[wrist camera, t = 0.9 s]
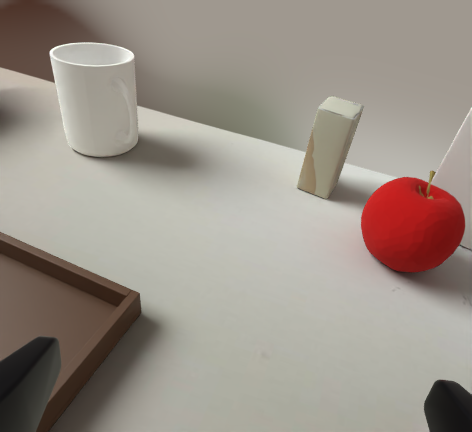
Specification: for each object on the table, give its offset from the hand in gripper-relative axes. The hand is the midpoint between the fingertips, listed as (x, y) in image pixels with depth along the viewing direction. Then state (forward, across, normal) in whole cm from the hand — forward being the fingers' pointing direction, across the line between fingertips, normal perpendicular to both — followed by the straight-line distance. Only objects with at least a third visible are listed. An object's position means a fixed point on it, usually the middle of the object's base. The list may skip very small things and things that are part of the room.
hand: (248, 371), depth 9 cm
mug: (+43, +18, +8) cm, 47 cm away
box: (+39, -11, +9) cm, 41 cm away
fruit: (+28, -18, +11) cm, 35 cm away
